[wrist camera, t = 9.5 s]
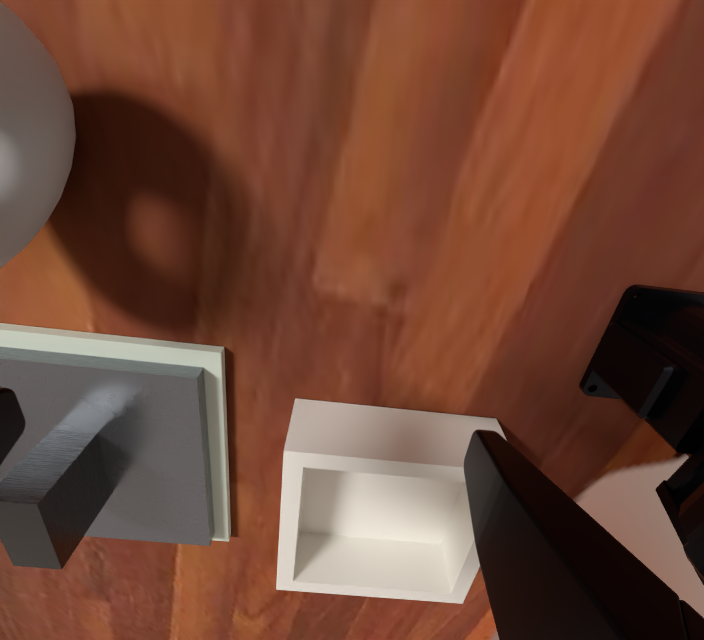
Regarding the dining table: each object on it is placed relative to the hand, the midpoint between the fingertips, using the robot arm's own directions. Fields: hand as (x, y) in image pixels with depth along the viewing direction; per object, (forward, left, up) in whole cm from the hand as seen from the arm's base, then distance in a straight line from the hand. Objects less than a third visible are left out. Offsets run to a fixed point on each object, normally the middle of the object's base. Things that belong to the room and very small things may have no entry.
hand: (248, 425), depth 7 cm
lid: (+12, +14, -11) cm, 22 cm away
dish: (-6, +15, -12) cm, 20 cm away
